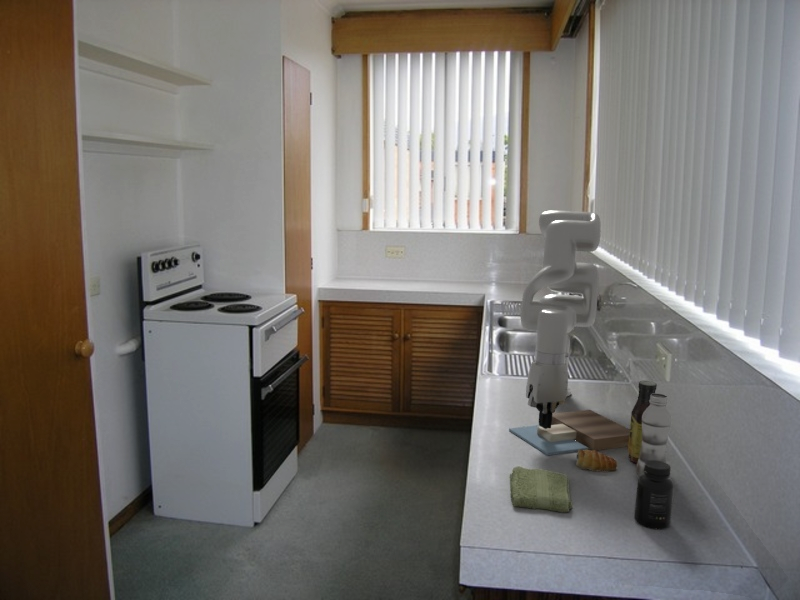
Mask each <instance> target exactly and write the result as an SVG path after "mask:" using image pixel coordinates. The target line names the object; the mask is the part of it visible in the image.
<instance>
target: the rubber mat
mask: <svg viewBox="0 0 800 600" xmlns="http://www.w3.org/2000/svg"><path fill="white" fill-rule="evenodd" d="M537 427H540V426H539V424H537V425H528V426H520V427H511V428H510V427H509V428H508V432H510V433H512V434H513V435H515V436H516V435H517V436H516V437H518V438H520V439H521V438H522V439H521V440H523V441H524V440H525V441H524V442H526V443H527V442H528V443H527V444H529V445H531V446H532V447H534V448H535V449H537V450H539V451H540V452H542V453H543V454H544V455H546V456H553V455H560V454H561V455H562V454H567V453H575V452H576V453H577V452H578V450H579V449H580V450H583V451H584V450H589V448H588V447H586V446H584V445H583V444H581V443H579V442H577V441H575V440H574V439H570V440H562V441H555V442H549V441H548V440H546V439H544V438H543V437H541V436H539V435H538V434H537Z"/></svg>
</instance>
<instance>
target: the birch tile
mask: <svg viewBox="0 0 800 600" xmlns="http://www.w3.org/2000/svg"><path fill="white" fill-rule="evenodd" d="M576 433H577V431H575V430H573V429H571V428H570V427H568V426H566V425H564V424H557V425H551V428H547V429H544V428H543V427H541V426H540V427H537V434H538V435H539V436H541V437H543V438H544V439H546V440H548V441H549V442H555V441H562V440H570V439H576Z"/></svg>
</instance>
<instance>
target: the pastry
mask: <svg viewBox="0 0 800 600" xmlns="http://www.w3.org/2000/svg"><path fill="white" fill-rule="evenodd" d="M576 453H577V454H576V463H575V465H576V467H578V468H579V469H581V470H585V471H587V470H590V471H593V472H611V471H616V470H617V468H618V467H617V466H618V463H617V460H616V459H615V458H614V457H611V456H608V455H606V454H604V453H602V452H597V450H596V451H593V450H591V449H588V450H580V449H579V450H578V451H577V452H576Z"/></svg>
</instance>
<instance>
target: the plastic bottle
mask: <svg viewBox="0 0 800 600" xmlns="http://www.w3.org/2000/svg"><path fill="white" fill-rule="evenodd" d="M649 403H650V406H649V407H648V408H647V409H646V410H645V411H644V412H643V415H642V446H641V451H640V456H639V459H638V462H637V463H636V467H635V468H636V469H635V471H636V476H637V477H638V478H639V476H640V475H642V474H644V466H645V462H646V461H650V460H656V461H662V462H665V463H667V462H666V461H667V444H668V439H669V435H670V431H671V426H672V421H673V419H672V415H671V413H670V411H669V409H668V408H667V406H668V395H666V394H664V393H656V392H655V393H653V394H651V395H650V400H649Z"/></svg>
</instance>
